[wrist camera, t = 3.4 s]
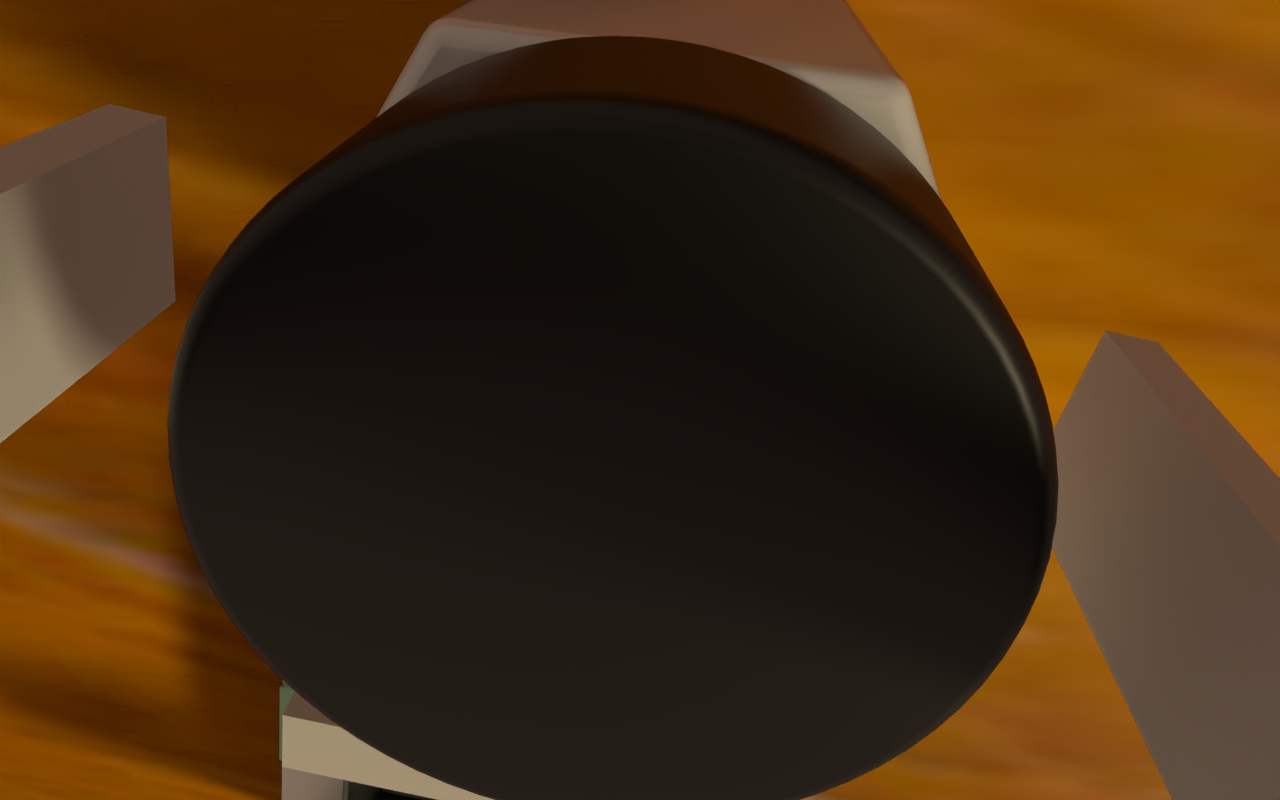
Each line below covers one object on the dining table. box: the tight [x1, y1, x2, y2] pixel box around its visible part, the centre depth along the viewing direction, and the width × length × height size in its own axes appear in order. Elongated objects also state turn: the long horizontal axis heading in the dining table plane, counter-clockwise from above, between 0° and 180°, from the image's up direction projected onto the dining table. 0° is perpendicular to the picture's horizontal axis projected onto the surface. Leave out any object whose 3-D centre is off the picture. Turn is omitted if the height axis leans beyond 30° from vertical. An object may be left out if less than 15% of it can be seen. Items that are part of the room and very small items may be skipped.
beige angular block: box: [282, 692, 494, 800], centre depth 19 cm, size 8×8×8 cm
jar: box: [167, 0, 1059, 800], centre depth 14 cm, size 9×8×12 cm
